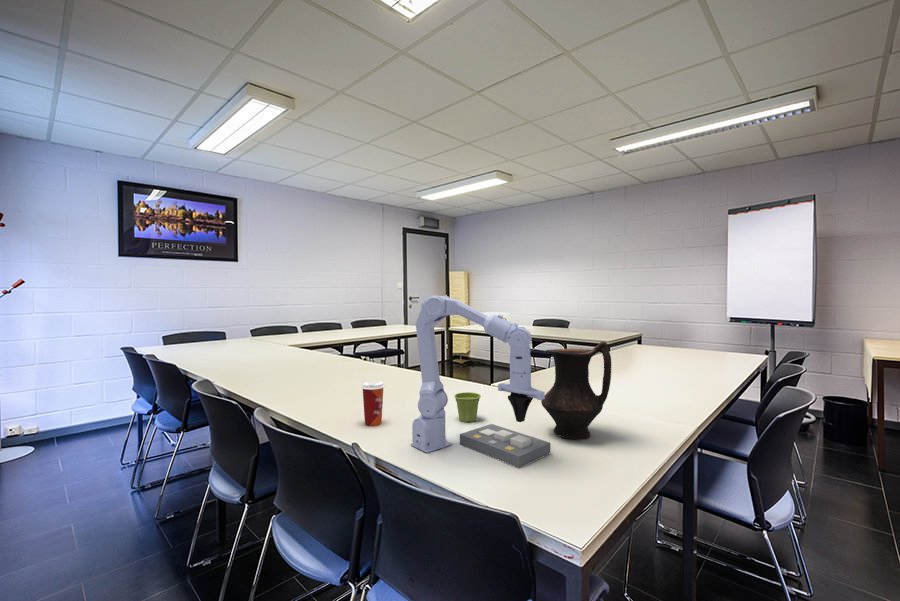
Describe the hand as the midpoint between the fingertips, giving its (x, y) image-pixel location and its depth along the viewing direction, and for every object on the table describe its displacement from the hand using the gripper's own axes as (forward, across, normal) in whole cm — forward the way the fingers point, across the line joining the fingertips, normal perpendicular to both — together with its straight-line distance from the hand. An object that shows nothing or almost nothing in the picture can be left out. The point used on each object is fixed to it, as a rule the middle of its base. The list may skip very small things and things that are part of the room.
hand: (520, 421), depth 108 cm
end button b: (+8, 0, 0) cm, 8 cm away
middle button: (+8, +6, 0) cm, 10 cm away
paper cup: (+10, +51, +16) cm, 54 cm away
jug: (+10, -2, -25) cm, 27 cm away
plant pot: (+10, +32, -11) cm, 35 cm away
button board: (+9, +6, 0) cm, 11 cm away
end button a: (+9, +12, 0) cm, 15 cm away
